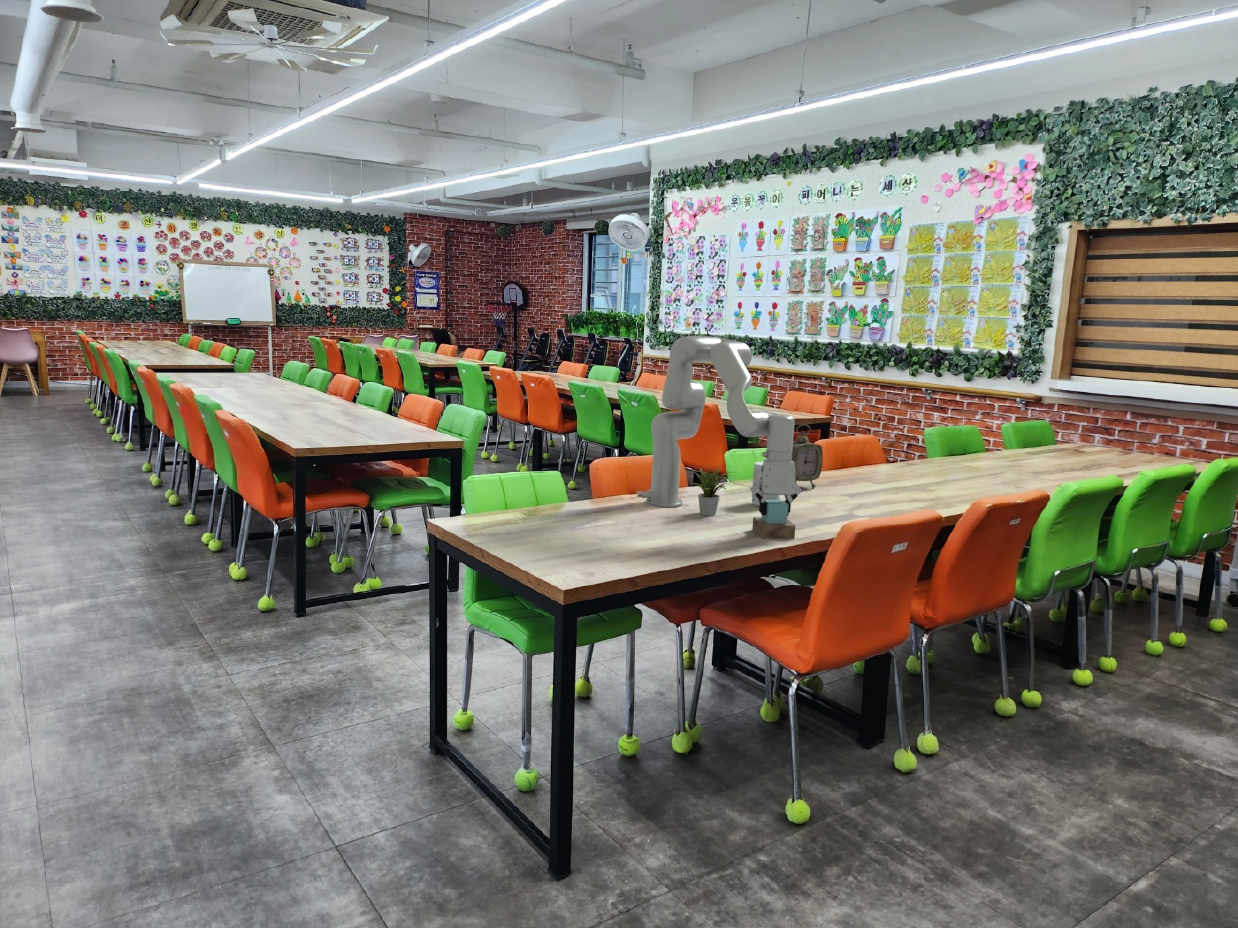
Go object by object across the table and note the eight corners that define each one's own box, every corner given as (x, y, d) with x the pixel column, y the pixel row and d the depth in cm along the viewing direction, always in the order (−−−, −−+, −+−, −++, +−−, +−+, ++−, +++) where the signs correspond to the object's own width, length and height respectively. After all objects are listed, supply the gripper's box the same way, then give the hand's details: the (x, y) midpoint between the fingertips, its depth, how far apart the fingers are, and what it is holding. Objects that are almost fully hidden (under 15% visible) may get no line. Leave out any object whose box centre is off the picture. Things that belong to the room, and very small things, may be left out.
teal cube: (767, 523, 252) (769, 503, 251) (761, 518, 258) (763, 499, 257) (786, 523, 253) (788, 504, 252) (780, 519, 259) (782, 499, 258)
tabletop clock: (791, 491, 323) (796, 426, 318) (776, 486, 331) (780, 422, 326) (820, 488, 330) (825, 425, 325) (804, 484, 338) (809, 422, 333)
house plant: (728, 521, 270) (732, 471, 267) (685, 517, 272) (688, 468, 269) (731, 512, 283) (735, 464, 281) (690, 508, 286) (693, 460, 283)
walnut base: (762, 538, 251) (762, 525, 250) (752, 529, 261) (753, 517, 260) (794, 538, 252) (795, 525, 252) (783, 530, 262) (784, 517, 261)
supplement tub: (784, 505, 297) (787, 464, 294) (768, 509, 290) (771, 467, 288) (762, 500, 303) (765, 460, 301) (745, 503, 297) (748, 462, 294)
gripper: (754, 457, 247) (750, 517, 251) (811, 459, 250) (806, 518, 253) (747, 453, 255) (743, 511, 258) (802, 454, 257) (797, 512, 260)
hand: (774, 514), depth 255 cm, fingers open, 6 cm apart
